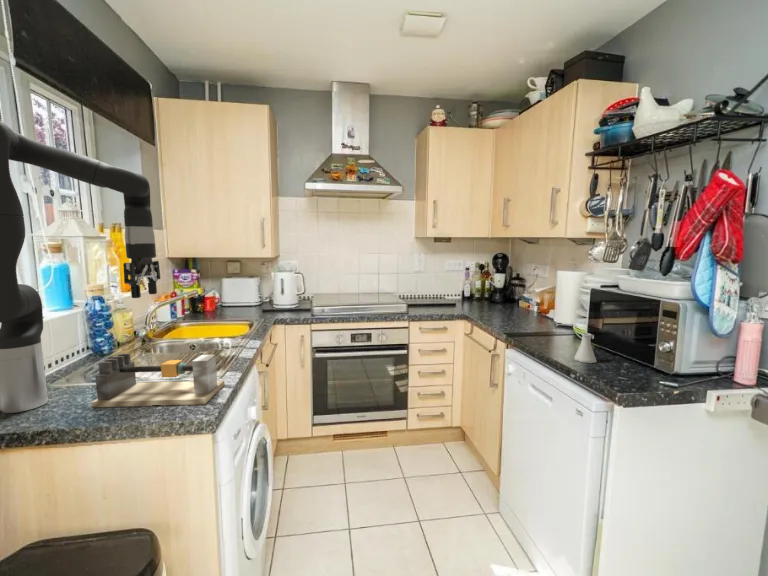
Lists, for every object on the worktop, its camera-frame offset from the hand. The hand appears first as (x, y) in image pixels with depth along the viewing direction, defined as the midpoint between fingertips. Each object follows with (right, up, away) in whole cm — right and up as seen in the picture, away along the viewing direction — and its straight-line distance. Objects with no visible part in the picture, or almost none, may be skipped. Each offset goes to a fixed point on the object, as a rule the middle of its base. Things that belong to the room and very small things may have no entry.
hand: (144, 295), depth 114 cm
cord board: (+9, -29, -5) cm, 31 cm away
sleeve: (+12, -23, -6) cm, 26 cm away
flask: (+147, -24, +23) cm, 150 cm away
